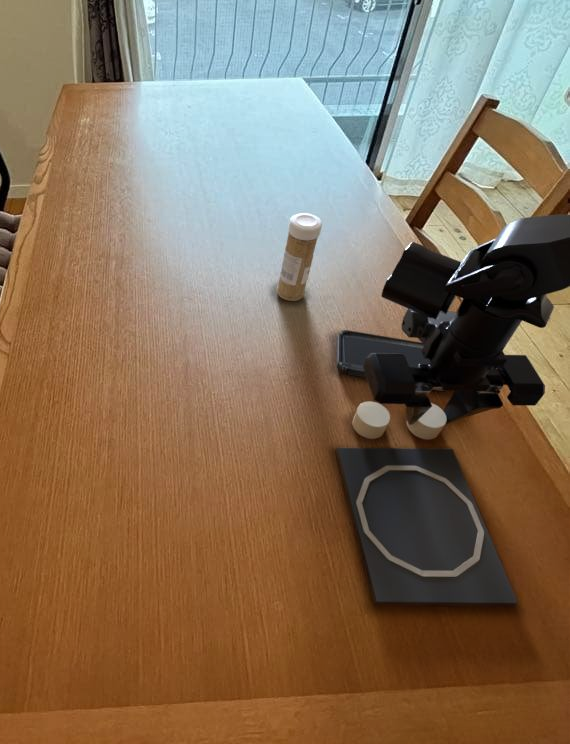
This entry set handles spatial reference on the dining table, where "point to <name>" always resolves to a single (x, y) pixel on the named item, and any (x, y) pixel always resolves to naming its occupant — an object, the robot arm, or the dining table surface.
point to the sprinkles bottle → (298, 255)
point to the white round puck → (429, 423)
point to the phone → (373, 351)
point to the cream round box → (371, 420)
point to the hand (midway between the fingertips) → (425, 421)
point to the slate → (421, 529)
